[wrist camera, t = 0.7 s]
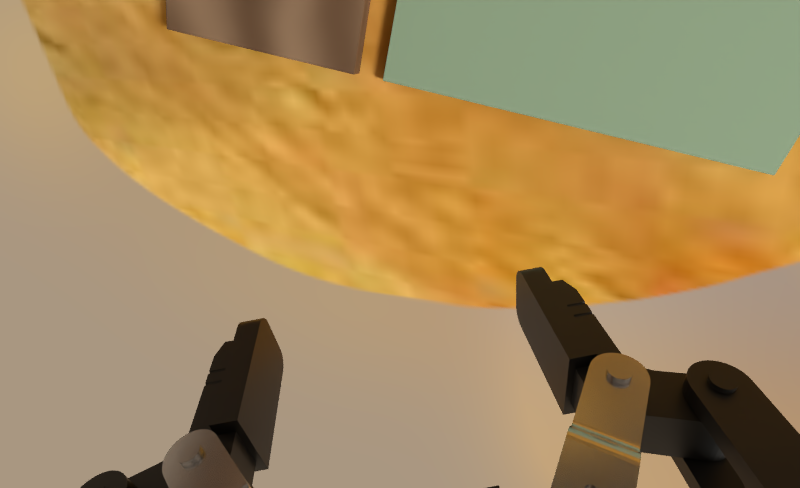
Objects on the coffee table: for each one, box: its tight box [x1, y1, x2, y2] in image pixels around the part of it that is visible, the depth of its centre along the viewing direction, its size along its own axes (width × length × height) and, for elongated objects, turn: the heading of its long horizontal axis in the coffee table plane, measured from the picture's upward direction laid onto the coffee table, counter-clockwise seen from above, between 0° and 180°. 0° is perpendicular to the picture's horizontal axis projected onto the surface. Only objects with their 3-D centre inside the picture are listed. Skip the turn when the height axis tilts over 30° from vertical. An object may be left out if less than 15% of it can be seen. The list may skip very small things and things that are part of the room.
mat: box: [383, 0, 800, 175], centre depth 26 cm, size 27×14×1 cm, turn 78°
